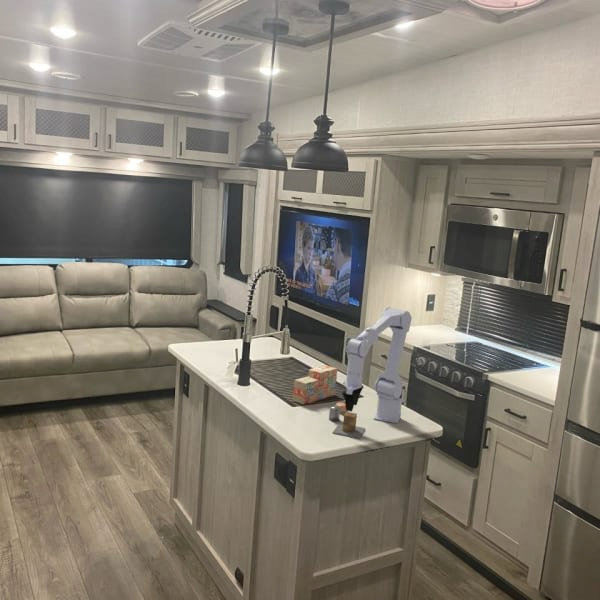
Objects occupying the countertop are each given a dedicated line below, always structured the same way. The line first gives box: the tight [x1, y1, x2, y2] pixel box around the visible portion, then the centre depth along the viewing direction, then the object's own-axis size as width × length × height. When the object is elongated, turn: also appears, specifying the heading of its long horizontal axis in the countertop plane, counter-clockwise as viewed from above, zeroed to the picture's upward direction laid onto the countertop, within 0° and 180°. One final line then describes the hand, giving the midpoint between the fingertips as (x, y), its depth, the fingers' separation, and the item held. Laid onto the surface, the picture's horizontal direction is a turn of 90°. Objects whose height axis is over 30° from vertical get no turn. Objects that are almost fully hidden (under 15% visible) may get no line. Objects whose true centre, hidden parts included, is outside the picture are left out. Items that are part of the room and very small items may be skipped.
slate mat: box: [332, 422, 366, 439], centre depth 222 cm, size 10×10×1 cm
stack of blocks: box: [292, 364, 338, 405], centre depth 255 cm, size 21×6×12 cm, turn 140°
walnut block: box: [342, 411, 358, 433], centre depth 221 cm, size 4×4×6 cm
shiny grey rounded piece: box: [328, 405, 341, 423], centre depth 232 cm, size 4×4×5 cm
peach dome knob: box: [335, 402, 349, 415], centre depth 242 cm, size 5×5×3 cm
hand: (351, 407), depth 220 cm, fingers open, 7 cm apart
